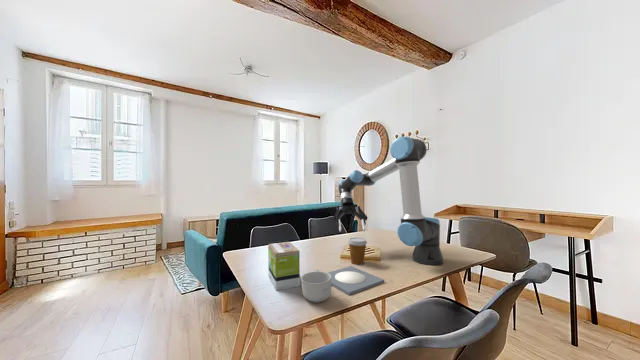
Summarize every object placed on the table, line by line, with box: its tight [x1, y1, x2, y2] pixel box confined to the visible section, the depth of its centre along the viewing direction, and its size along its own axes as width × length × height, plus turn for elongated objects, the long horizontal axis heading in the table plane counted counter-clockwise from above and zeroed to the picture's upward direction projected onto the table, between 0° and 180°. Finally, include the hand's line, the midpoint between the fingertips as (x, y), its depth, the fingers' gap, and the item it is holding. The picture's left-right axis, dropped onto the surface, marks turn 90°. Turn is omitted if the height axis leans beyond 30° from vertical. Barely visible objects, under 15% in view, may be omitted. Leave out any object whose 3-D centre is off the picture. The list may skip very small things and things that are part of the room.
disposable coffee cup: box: [348, 237, 368, 266], centre depth 125 cm, size 10×10×12 cm
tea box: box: [267, 241, 301, 291], centre depth 102 cm, size 15×10×15 cm, turn 23°
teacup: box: [300, 269, 332, 303], centre depth 89 cm, size 14×11×8 cm
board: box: [327, 265, 385, 296], centre depth 103 cm, size 20×20×1 cm
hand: (352, 230), depth 136 cm, fingers open, 13 cm apart
